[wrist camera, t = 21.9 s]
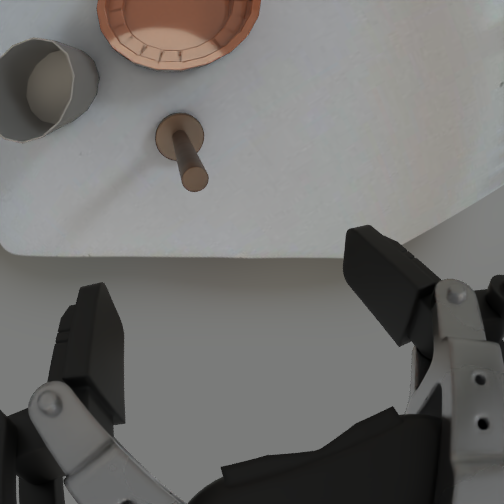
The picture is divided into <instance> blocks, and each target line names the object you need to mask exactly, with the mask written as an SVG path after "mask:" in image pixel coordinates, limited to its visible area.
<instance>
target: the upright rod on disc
mask: <svg viewBox="0 0 504 504" xmlns="http://www.w3.org/2000/svg"><path fill="white" fill-rule="evenodd" d="M155 140H156V145H157V148H158V150H159V151H160V153H161V154H162V155H163V156H165V157H166V158H168V159H170V160H174V161H177V163H178V167H179V172H180V176H181V180H182V184H183V186H184V187H185V188H186V189H187V190H188V191H191V192H198V191H201V190H202V189H204V188H205V187H206V185H207V183H208V179H209V178H208V174H207V172H206V170H205V168H204V166H203V164H202V162H201V160H200V158H199V156H198V154H197V152H198V151H199V150H200V148H201V146H202V144H203V141H204V132H203V128H202V126H201V124H200V123H199V122H198V121H197V119H196V118H194V117H193V116H191V115H189V114H186V113H174V114H171V115H169V116H167V117H166V118H164V119H163V120H162V121H161V122H160V124H159V125H158V128H157V130H156V137H155Z"/></svg>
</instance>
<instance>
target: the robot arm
mask: <svg viewBox="0 0 504 504" xmlns="http://www.w3.org/2000/svg"><path fill="white" fill-rule="evenodd" d="M343 272H344V277H345V279H346V282H347V283H348V285H349V286H350V287H351V288H352V290H353V291H354V292H355V293H356V294H357V296H358V297H359V298H360V299H361V300H362V302H363V303H364V304H365V305H366V306H367V307H368V309H369V310H370V311H371V313H372V314H373V315H374V316H375V317H376V319H377V320H378V321H379V322H380V324H381V325H382V326H383V327H384V329H385V330H386V331H387V332H388V334H389V335H390V336H391V337H392V339H393V340H394V341H395V342H396V344H397V345H398V346H399V347H400V346H402V345H404V344H407V343H409V342H411V341H412V342H413V344H414V347H413V350H412V365H411V384H410V396H409V402H408V405H407V408H406V411H405V414H404V415H398V413H397V412H396V410H395V409H394V407H393V406H392V407H390V408H388V409H386V410H384V411H382V412H380V413H378V414H376V415H374V416H371V417H370V418H367V419H365V420H363V421H360V422H358V423H356V424H355V425H354V426H352V427H351V428H349V429H348V430H347V431H345V432H344V433H343V434H341V435H340V436H339V437H337V438H336V439H334V440H333V441H331V442H330V443H329V444H327V445H326V446H324V447H323V448H321V449H319V450H316V451H310V452H301V453H291V454H280V455H266V456H263V457H259V458H256V459H252V460H248V461H244V462H240V463H236V464H232V465H228V466H223V467H221V470H222V474H223V477H222V478H220V479H218V480H215V481H214V482H212V483H211V484H209V485H207V486H206V487H205V488H204V489H202V490H201V491H200V492H198V493H197V494H196V495H195V496H194V497H193V498H192V499H191V500H190V501H189V503H188V504H504V341H503V340H502V339H503V337H504V275H496V276H494V277H493V278H492V279H491V281H490V284H489V286H488V289H485V290H476V291H473V289H472V288H471V287H470V286H468V285H467V284H465V283H464V282H462V281H459V280H455V279H444V280H441V279H440V278H439V277H438V276H436V275H435V274H434V273H433V272H432V271H431V270H430V269H429V268H427V267H426V266H425V265H424V264H423V263H422V262H421V261H419V260H418V259H417V258H414V256H413V255H412V254H411V253H410V252H407V250H406V249H405V248H404V247H403V246H402V245H400V244H399V243H398V242H397V241H395V240H392V239H390V238H388V237H386V236H383V235H382V234H380V233H379V232H378V231H377V230H376V229H374V228H373V227H372V226H370V225H365V226H360V227H356V228H351V229H349V230H348V231H347V233H346V240H345V251H344V262H343ZM58 332H59V333H58V334H57V337H56V344H55V346H54V351H53V356H52V360H51V366H50V371H49V377H48V382H47V383H45V384H43V385H42V386H40V387H39V388H38V389H37V390H36V391H35V392H34V393H33V395H32V397H31V399H30V402H29V406H28V408H27V409H24V410H22V411H20V412H17V413H15V414H12V415H10V416H6V415H5V414H4V413H3V412H2V411H1V410H0V504H17V503H16V475H17V476H18V477H19V502H20V504H65V500H64V490H63V478H62V477H63V476H66V478H65V479H64V484H65V486H66V488H67V489H68V491H69V492H70V494H71V495H72V496H73V498H74V499H75V500H76V502H77V503H78V504H186V503H185V502H184V501H183V500H181V499H180V498H179V497H178V496H177V495H175V494H174V493H173V492H172V491H170V490H169V489H168V488H167V487H166V486H164V485H163V484H162V483H161V482H160V481H159V480H157V479H156V478H155V477H154V476H153V475H152V474H151V473H150V472H149V471H148V470H146V469H145V468H144V467H143V466H142V465H141V464H140V463H139V462H138V461H137V460H136V459H135V458H134V457H133V456H132V455H131V454H130V453H129V452H128V451H127V450H126V449H125V448H124V447H123V446H122V445H121V444H120V443H119V442H118V441H117V440H116V439H115V437H114V434H113V432H114V431H113V425H118V424H125V404H124V331H123V326H122V323H121V320H120V317H119V315H118V313H117V310H116V308H115V306H114V304H113V302H112V299H111V297H110V294H109V292H108V290H107V287H106V285H105V284H104V283H103V282H101V283H97V284H92V285H88V286H83V287H81V288H80V290H79V294H78V298H77V302H76V305H71V306H69V308H68V309H67V311H66V312H65V313H64V315H63V316H62V318H61V321H60V325H59V329H58Z"/></svg>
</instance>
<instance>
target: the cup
mask: <svg viewBox="0 0 504 504" xmlns="http://www.w3.org/2000/svg"><path fill="white" fill-rule="evenodd" d="M98 81H99V75H98V72H97V69H96V65H95V62H94V61H93V60H92V59H91V58H90V57H89V56H88V55H87V54H86V53H85V52H83V51H82V50H79V49H76V48H73V47H71V46H68V45H65V44H62V43H59V42H56V41H53V40H47V39H40V38H31V39H28V40H25V41H22V42H20V43H17V44H15V45H13V46H11V47H10V48H9V49H8V50H7V51H6V52H5V53H4V54H3V55H2V56H1V57H0V136H1V137H2V138H3V139H5V140H10V141H14V142H18V143H25V142H29V141H32V140H35V139H39V138H42V137H44V136H46V135H48V134H49V133H51V132H53V131H55V130H57V129H59V128H60V127H62V126H64V125H66V124H68V123H70V122H72V121H74V120H75V119H77V118H78V117H79V116H80V115H82V114H83V113H84V112H85V111H87V110H88V108H89V107H90V105H91V103H92V101H93V100H94V98H95V96H96V95H97V88H98Z"/></svg>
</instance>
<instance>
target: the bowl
mask: <svg viewBox="0 0 504 504" xmlns="http://www.w3.org/2000/svg"><path fill="white" fill-rule="evenodd" d="M260 3H261V0H98V4H97V14H98V19H99V24H100V29H101V32H102V33H103V34H104V36H105V37H106V39H107V40H108V42H109V43H110V45H111V46H112V48H113V49H114V50H116V51H117V52H118V53H120V54H121V55H123V56H124V57H126V58H127V59H128V60H130V61H131V62H133V63H134V64H136V65H138V66H141V67H145V68H148V69H151V70H154V71H167V72H181V71H185V70H189V69H193V68H198V67H202V66H204V65H207V64H210V63H211V62H213V61H215V60H217V59H219V58H221V57H223V56H224V55H226V54H228V53H230V52H232V51H233V50H234V49H235V48H236V47H237V46H238V45H239V44H240V43H241V42H242V41H243V40H244V39H245V38H246V37H247V36H248V35H249V33H250V31H251V29H252V27H253V25H254V24H255V22H256V20H257V18H258V16H259V10H260Z"/></svg>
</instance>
